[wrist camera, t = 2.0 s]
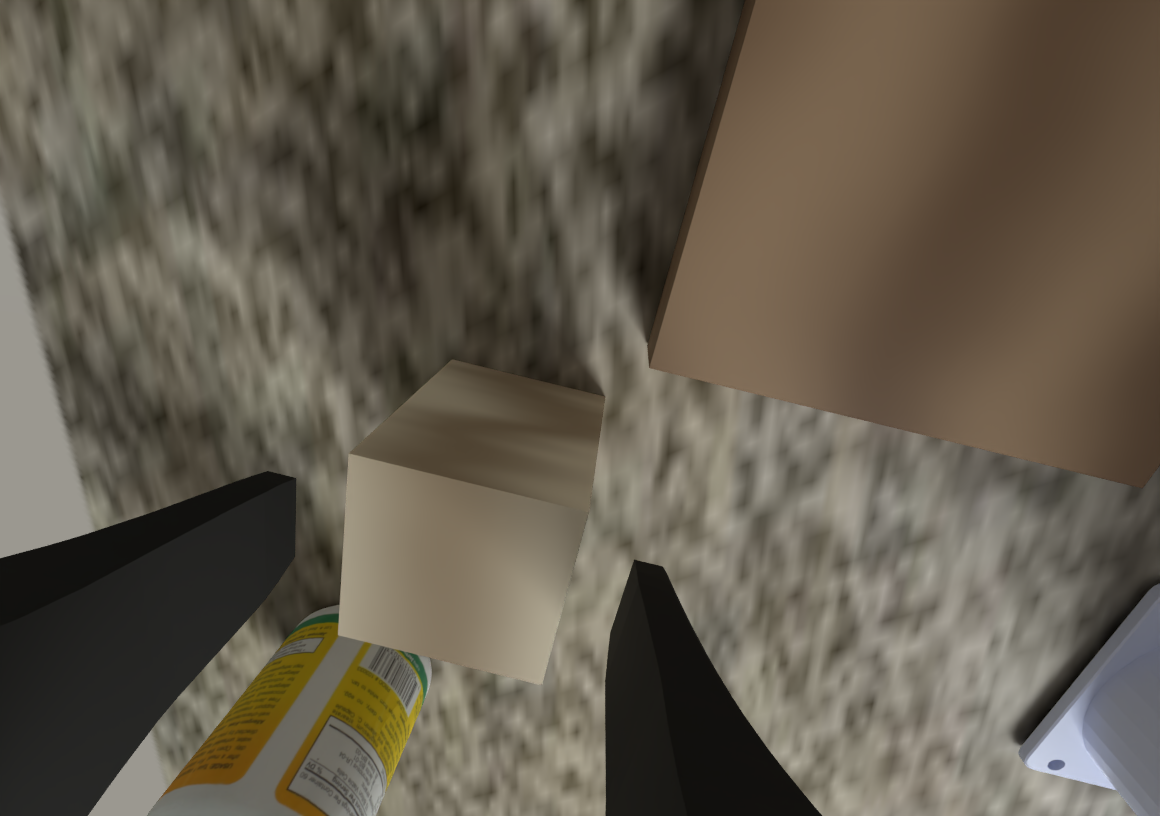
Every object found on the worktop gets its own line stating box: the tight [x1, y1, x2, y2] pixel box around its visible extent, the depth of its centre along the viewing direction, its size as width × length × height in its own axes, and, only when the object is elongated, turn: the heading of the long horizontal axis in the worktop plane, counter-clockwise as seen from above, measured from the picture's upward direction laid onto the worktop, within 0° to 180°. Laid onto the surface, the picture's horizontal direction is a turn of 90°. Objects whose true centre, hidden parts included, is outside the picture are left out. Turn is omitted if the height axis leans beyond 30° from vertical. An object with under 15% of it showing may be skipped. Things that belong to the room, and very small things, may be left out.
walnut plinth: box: [647, 0, 1160, 488], centre depth 11 cm, size 12×12×2 cm
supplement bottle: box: [147, 605, 432, 816], centre depth 16 cm, size 5×5×10 cm
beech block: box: [338, 359, 605, 685], centre depth 13 cm, size 4×4×6 cm
